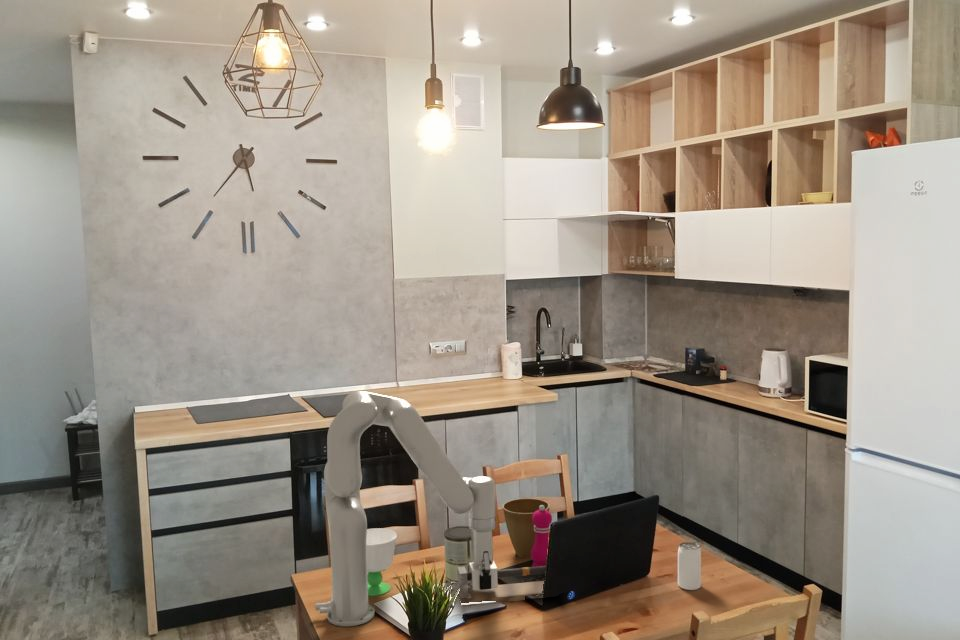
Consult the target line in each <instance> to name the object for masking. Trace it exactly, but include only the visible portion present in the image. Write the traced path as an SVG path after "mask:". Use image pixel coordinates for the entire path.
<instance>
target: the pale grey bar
mask: <svg viewBox="0 0 960 640" xmlns="http://www.w3.org/2000/svg"><path fill="white" fill-rule="evenodd" d="M457 569H458V584H457V589H459V588H460V591H459V594H457V596H459V597H458V600H459V599H460V600H459V602H460V601H461V603H469V602H482V601H496V602H498V603H507V602H508V603H509V602H519V601H526V600H525V596H527V595H535V594H542V591H543V584H544V581H545V580H539V581H537V580H536V581H527V582H517V583H504V584H498V588H491V589H485V590H480V589H478V590H473V589H472V587H468V584H467V580H472V573H471V572H470V573H467V572H466V569H465V566H462V567H457ZM545 571H546V566H539V567H533V566H525V567H518V568H505V569H497V579H498V578H509V577H517V576H518V577H519V576H522V577H523V576H530V575H532V576H533V575H541V574H546V573H545ZM461 603H460V604H461Z"/></svg>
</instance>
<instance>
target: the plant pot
mask: <svg viewBox="0 0 960 640" xmlns="http://www.w3.org/2000/svg"><path fill="white" fill-rule="evenodd" d="M540 505H544V507H545V509H544V510H547V511H549V512H550V503H548V502H547V501H546V500H544V499H543V500H542V499H538V498H530V497H529V498H528V497H527V498H517V499H511V500H509V501H506V502H505V503H503V505H502V510H503V514H504V515H503V516H504V520H505V525H506V528H507V532H508V535H509V538H510V542H511V545H512V547H513V550H514V552H515V554H516V556H517V557H520V558H522V559H523V558H524V559H529V558H531V550H532V547H533V545H534V543H535V539H536V532H535V531H534V525H535V524H534V523H533V521H532V516H533V514H534V512H535V511H537V510H539V506H540ZM531 559H532V558H531Z"/></svg>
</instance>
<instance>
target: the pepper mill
mask: <svg viewBox="0 0 960 640" xmlns="http://www.w3.org/2000/svg"><path fill="white" fill-rule="evenodd" d="M544 509H545V507H544V505H540V506H539V510H537V511H535V512H534V514H533V516H532V521H533V523H534V524H535V525H534V531H535V532H536V539H535V543H534V545H533V547H532V550H531V560H532V561H533V562H532V564H531V565H532V566H531V567H539V566H545V565H546V557H547V549H548V537H549V538H550V531H549V526H550V527H551V525H550V524H551V523H552V521H553V515H552V513H551V512H550V510H549V511H547V510H544Z"/></svg>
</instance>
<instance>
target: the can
mask: <svg viewBox="0 0 960 640" xmlns="http://www.w3.org/2000/svg"><path fill="white" fill-rule="evenodd" d="M678 545H679V547H678V548H677V585H678V587H679V588H680V589H682V590H685V591H697V590H699V589H700V588H701V587H702V551H701V548H700V545H699V544H698V543H697V542H696V543H695V542H691V541H684V542H680V543H679V544H678Z"/></svg>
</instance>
